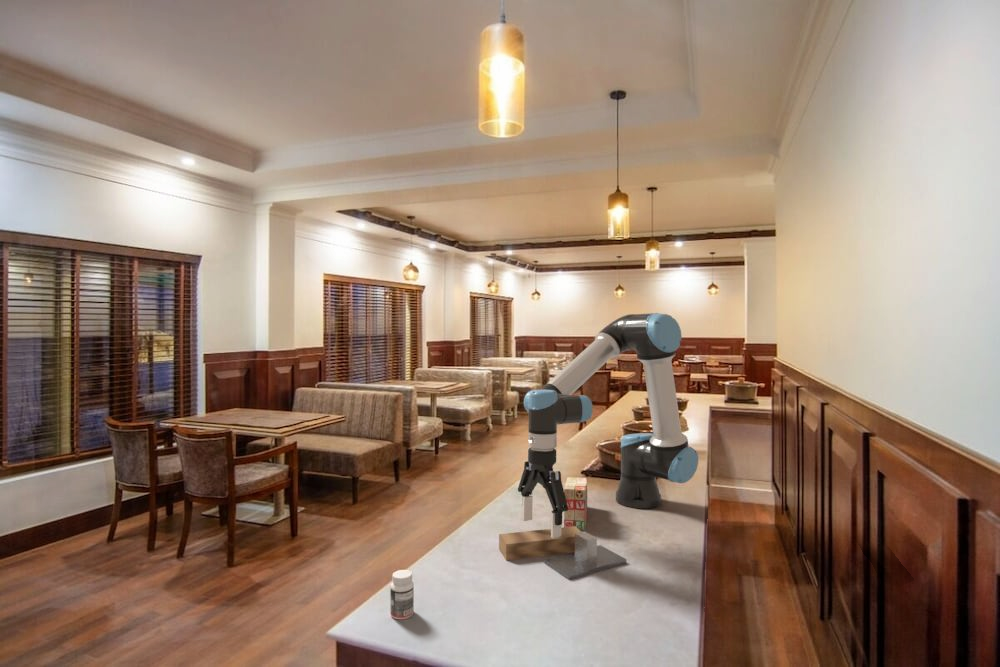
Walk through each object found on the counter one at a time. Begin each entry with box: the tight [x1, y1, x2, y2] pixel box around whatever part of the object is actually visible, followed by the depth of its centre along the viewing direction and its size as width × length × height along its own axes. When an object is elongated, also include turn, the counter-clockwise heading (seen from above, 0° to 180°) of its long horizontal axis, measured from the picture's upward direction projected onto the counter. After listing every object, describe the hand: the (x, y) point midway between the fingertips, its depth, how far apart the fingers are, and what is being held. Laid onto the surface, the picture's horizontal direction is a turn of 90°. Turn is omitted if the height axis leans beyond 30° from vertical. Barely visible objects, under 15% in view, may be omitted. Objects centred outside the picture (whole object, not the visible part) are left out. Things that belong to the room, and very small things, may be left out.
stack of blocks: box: [563, 476, 588, 532], centre depth 166 cm, size 21×6×12 cm, turn 169°
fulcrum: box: [544, 530, 627, 581], centre depth 133 cm, size 18×10×7 cm, turn 119°
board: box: [498, 526, 582, 561], centre depth 141 cm, size 22×7×4 cm, turn 105°
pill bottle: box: [389, 569, 415, 620], centre depth 109 cm, size 5×5×8 cm
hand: (541, 528), depth 141 cm, fingers open, 13 cm apart
